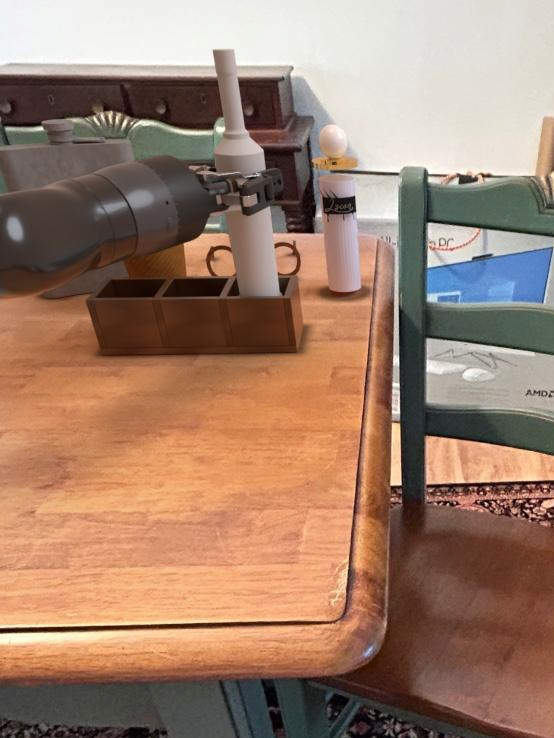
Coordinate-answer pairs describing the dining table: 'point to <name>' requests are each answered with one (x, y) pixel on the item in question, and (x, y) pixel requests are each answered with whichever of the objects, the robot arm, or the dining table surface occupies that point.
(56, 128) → the hip flask
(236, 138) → the bottle
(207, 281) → the rack
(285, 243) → the glasses
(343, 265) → the perfume bottle
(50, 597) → the dining table surface
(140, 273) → the disposable coffee cup
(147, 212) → the robot arm
